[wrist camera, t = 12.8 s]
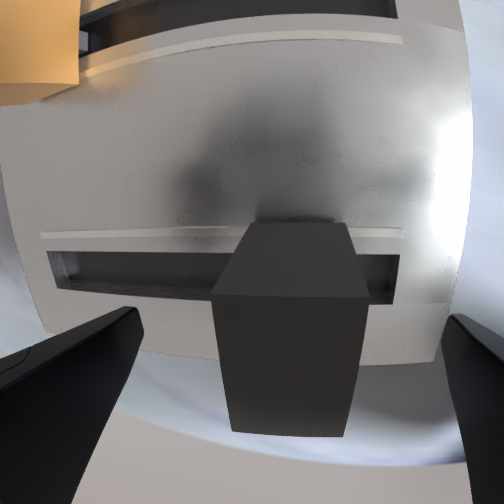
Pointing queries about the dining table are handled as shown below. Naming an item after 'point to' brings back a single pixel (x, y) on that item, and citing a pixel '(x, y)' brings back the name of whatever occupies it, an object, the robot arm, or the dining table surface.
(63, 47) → the orange fader
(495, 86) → the dining table surface
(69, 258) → the panel
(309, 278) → the black fader
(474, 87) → the dining table surface
